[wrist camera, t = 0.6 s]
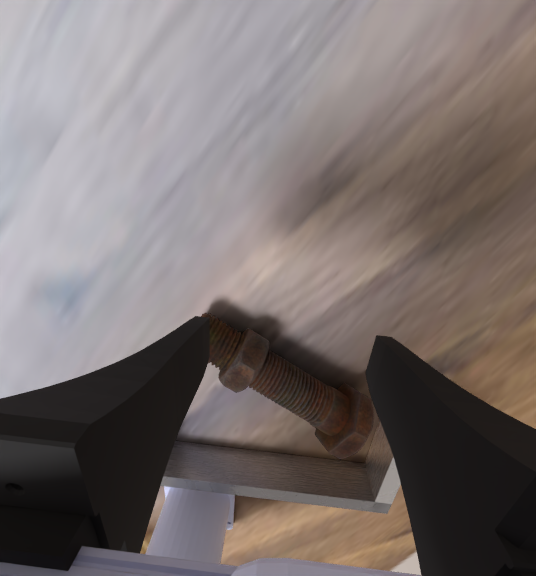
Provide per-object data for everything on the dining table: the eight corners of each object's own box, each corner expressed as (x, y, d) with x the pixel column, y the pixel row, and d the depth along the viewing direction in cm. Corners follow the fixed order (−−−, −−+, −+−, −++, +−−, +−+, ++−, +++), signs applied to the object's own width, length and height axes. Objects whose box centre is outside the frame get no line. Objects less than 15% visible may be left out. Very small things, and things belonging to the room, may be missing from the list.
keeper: (375, 474, 28) (387, 513, 25) (157, 448, 28) (141, 483, 25) (408, 390, 23) (427, 425, 20) (147, 361, 24) (125, 390, 21)
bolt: (212, 299, 23) (348, 385, 25) (178, 350, 23) (322, 434, 25) (211, 299, 18) (387, 409, 20) (166, 367, 17) (354, 474, 19)
